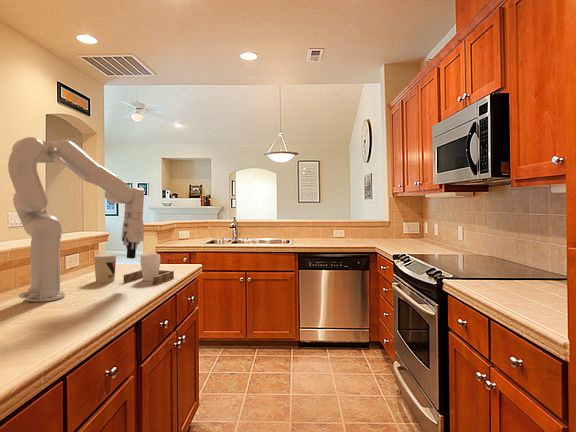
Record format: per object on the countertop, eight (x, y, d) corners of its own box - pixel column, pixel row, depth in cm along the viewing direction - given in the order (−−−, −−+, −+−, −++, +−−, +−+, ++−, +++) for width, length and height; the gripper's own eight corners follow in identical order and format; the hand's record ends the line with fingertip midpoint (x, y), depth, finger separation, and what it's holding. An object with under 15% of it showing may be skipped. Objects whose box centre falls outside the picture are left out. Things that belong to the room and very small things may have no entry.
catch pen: (155, 284, 177) (155, 277, 177) (123, 282, 181) (123, 274, 180) (173, 278, 193) (173, 271, 193) (143, 276, 196) (143, 269, 196)
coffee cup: (110, 283, 178) (110, 256, 178) (89, 282, 179) (89, 256, 178) (119, 279, 188) (119, 254, 187) (100, 278, 188) (100, 253, 187)
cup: (139, 278, 190) (139, 253, 189) (158, 277, 194) (158, 253, 194) (141, 282, 182) (141, 256, 181) (161, 280, 186) (162, 255, 186)
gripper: (131, 216, 165) (128, 260, 165) (150, 217, 180) (148, 257, 180) (115, 215, 167) (112, 259, 167) (135, 216, 181) (133, 256, 181)
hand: (130, 258), depth 173 cm, fingers closed
